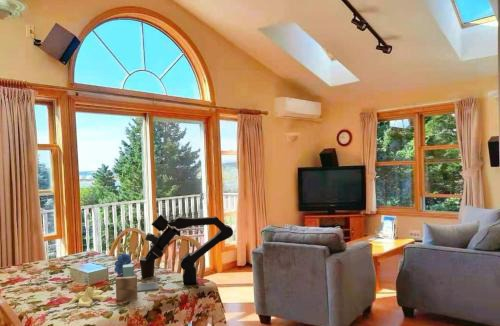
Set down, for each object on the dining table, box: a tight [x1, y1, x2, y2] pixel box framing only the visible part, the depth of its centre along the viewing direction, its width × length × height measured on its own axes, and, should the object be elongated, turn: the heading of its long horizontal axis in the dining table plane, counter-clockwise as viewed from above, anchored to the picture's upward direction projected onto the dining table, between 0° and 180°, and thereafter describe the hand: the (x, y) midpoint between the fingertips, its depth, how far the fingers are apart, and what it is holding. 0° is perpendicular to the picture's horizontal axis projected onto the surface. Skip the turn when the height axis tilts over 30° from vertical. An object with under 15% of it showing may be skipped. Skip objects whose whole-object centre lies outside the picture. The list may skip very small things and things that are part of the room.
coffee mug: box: [138, 256, 156, 279], centre depth 218 cm, size 12×9×10 cm
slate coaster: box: [137, 282, 159, 293], centre depth 196 cm, size 10×10×1 cm
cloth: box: [67, 286, 111, 307], centre depth 182 cm, size 22×19×6 cm
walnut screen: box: [115, 275, 138, 302], centre depth 181 cm, size 9×2×10 cm, turn 95°
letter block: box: [122, 263, 135, 277], centre depth 194 cm, size 5×5×12 cm
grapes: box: [114, 252, 132, 276], centre depth 222 cm, size 12×7×12 cm, turn 149°
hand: (145, 261), depth 197 cm, fingers open, 9 cm apart
